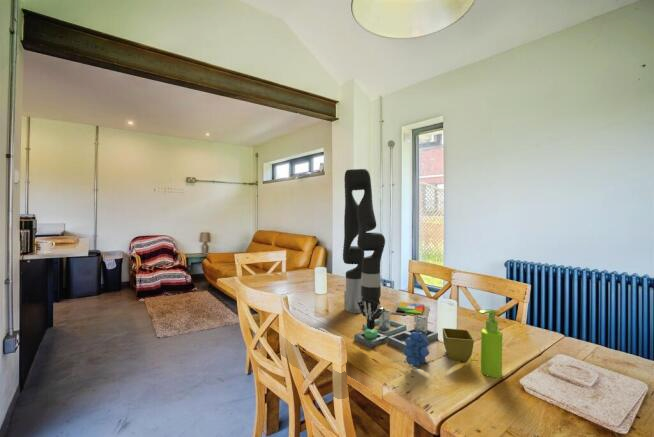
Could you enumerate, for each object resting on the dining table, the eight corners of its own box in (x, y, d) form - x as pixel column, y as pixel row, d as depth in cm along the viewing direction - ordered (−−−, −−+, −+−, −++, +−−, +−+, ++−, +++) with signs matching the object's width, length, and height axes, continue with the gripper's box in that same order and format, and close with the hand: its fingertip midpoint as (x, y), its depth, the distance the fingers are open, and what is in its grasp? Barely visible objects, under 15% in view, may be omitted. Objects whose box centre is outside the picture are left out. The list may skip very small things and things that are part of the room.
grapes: (415, 378, 94) (415, 339, 94) (398, 369, 100) (398, 332, 99) (438, 367, 101) (439, 331, 100) (421, 359, 106) (421, 325, 106)
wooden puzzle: (389, 316, 152) (389, 309, 151) (396, 305, 169) (396, 299, 169) (426, 321, 145) (426, 313, 145) (429, 309, 162) (429, 302, 162)
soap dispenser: (474, 368, 100) (474, 307, 100) (494, 367, 101) (495, 307, 100) (484, 378, 94) (485, 313, 94) (506, 377, 95) (507, 313, 95)
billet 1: (375, 329, 132) (376, 309, 131) (384, 326, 134) (384, 307, 134) (384, 332, 127) (384, 312, 127) (392, 330, 130) (392, 310, 130)
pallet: (406, 354, 110) (406, 345, 110) (387, 345, 117) (387, 337, 117) (437, 341, 121) (438, 332, 121) (418, 334, 128) (418, 326, 128)
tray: (362, 330, 132) (362, 324, 132) (385, 323, 140) (385, 317, 140) (383, 340, 122) (383, 333, 122) (406, 332, 130) (406, 325, 130)
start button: (361, 338, 120) (361, 330, 120) (370, 335, 123) (370, 327, 123) (370, 342, 116) (370, 334, 116) (380, 339, 119) (380, 331, 119)
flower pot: (474, 366, 101) (474, 340, 101) (446, 364, 103) (446, 337, 103) (467, 354, 110) (467, 329, 110) (441, 352, 112) (442, 327, 111)
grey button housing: (354, 342, 120) (354, 334, 120) (370, 336, 126) (370, 329, 125) (370, 350, 113) (370, 342, 113) (387, 344, 118) (387, 336, 118)
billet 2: (411, 337, 122) (411, 316, 122) (419, 334, 125) (419, 313, 125) (422, 341, 118) (422, 319, 118) (430, 338, 121) (430, 317, 121)
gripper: (352, 282, 122) (352, 325, 122) (376, 288, 111) (376, 336, 111) (366, 280, 126) (365, 322, 126) (390, 286, 116) (390, 331, 116)
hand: (370, 328), depth 119 cm, fingers closed
